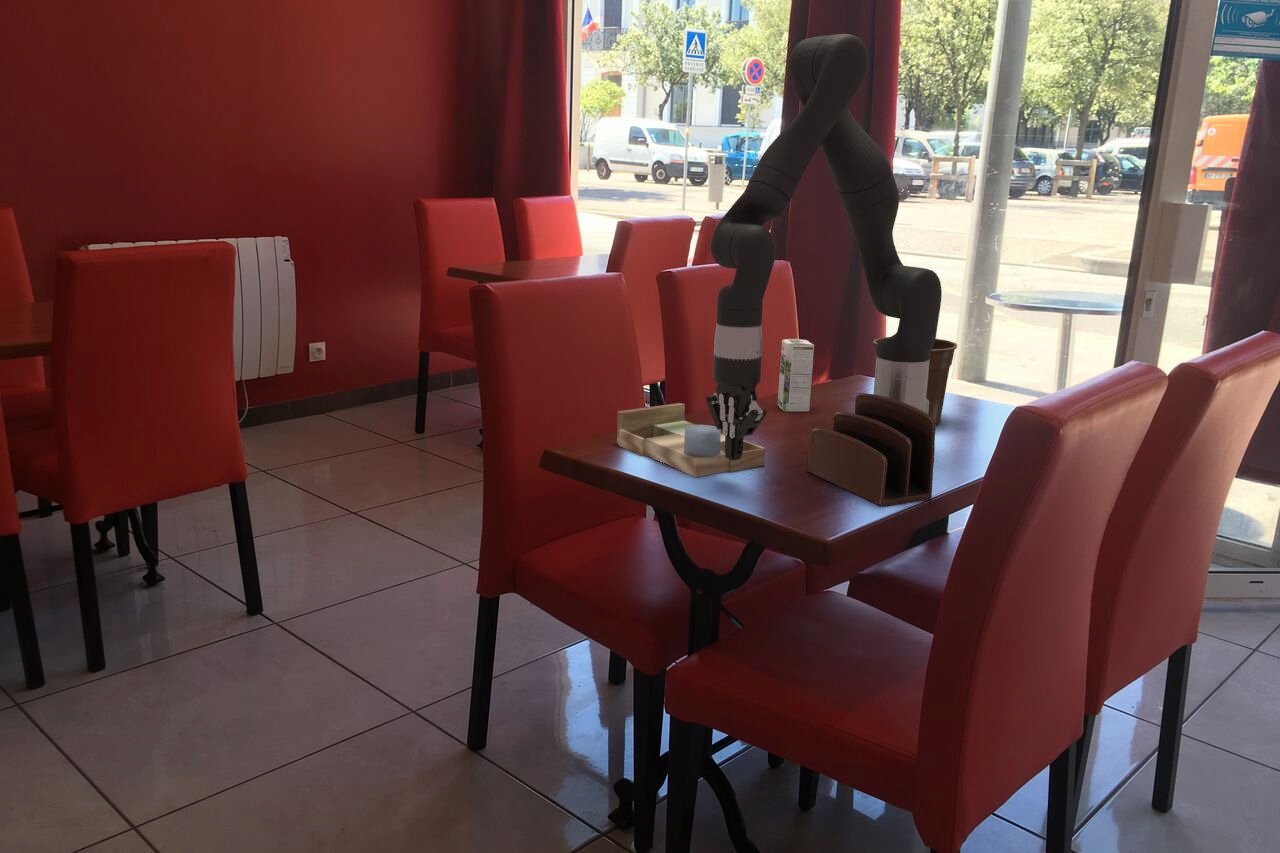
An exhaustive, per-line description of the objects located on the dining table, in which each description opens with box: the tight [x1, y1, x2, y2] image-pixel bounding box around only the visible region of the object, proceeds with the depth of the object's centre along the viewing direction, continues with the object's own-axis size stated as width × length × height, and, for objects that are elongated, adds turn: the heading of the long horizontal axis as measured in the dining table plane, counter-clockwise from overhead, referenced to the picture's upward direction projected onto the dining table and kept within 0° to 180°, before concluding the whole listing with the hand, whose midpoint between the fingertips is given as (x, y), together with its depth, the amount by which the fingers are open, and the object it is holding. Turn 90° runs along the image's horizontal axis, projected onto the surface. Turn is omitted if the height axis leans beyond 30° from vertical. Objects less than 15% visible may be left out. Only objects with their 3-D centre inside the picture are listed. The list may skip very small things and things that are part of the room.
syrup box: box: [777, 338, 815, 413], centre depth 217 cm, size 6×6×14 cm
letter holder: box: [807, 392, 937, 507], centre depth 166 cm, size 10×20×14 cm, turn 26°
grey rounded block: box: [684, 424, 722, 457], centre depth 173 cm, size 6×6×4 cm
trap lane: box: [616, 402, 766, 478], centre depth 183 cm, size 25×15×6 cm, turn 34°
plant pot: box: [872, 336, 958, 425], centre depth 209 cm, size 16×16×16 cm
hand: (733, 458), depth 167 cm, fingers closed
